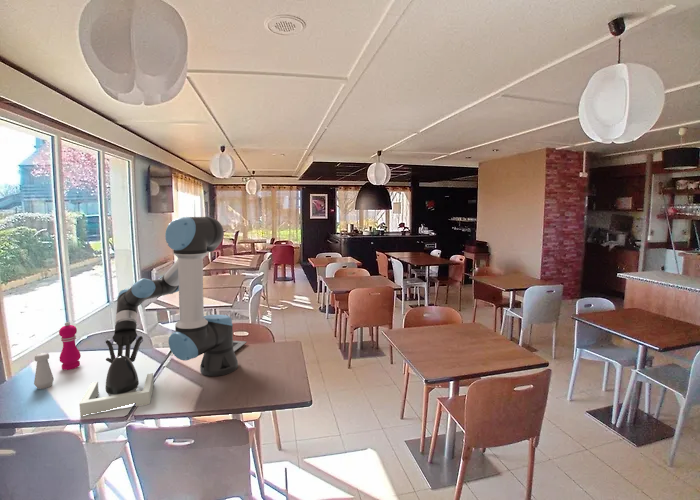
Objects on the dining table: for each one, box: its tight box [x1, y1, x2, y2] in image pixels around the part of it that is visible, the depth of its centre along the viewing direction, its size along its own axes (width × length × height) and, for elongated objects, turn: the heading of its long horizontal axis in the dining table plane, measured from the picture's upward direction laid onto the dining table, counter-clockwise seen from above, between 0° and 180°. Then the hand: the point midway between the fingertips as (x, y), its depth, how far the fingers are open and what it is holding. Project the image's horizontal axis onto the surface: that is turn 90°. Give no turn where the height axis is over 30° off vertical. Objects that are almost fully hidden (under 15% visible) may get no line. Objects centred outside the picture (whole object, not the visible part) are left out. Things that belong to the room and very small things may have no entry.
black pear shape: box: [105, 355, 140, 396], centre depth 132 cm, size 10×10×15 cm
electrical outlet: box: [233, 340, 247, 353], centre depth 178 cm, size 13×10×2 cm
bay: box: [79, 372, 155, 417], centre depth 131 cm, size 16×20×4 cm
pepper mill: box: [58, 321, 82, 371], centre depth 156 cm, size 7×7×20 cm
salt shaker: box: [33, 352, 54, 390], centre depth 139 cm, size 6×6×13 cm
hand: (121, 380), depth 137 cm, fingers closed
